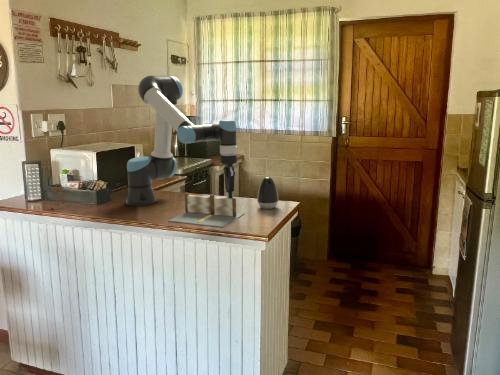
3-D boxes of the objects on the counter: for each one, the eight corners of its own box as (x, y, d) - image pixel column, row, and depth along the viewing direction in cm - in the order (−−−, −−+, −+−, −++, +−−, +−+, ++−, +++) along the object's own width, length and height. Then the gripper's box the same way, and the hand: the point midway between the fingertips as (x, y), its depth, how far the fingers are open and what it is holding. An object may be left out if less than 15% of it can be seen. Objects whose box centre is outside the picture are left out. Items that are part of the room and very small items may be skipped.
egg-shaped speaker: (261, 211, 202) (260, 179, 199) (254, 206, 212) (254, 175, 208) (281, 209, 204) (281, 178, 201) (274, 204, 214) (274, 174, 211)
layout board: (168, 221, 188) (167, 220, 188) (193, 209, 208) (193, 208, 208) (222, 227, 178) (222, 226, 178) (244, 214, 197) (244, 213, 197)
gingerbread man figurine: (66, 205, 221) (63, 182, 219) (71, 206, 219) (68, 183, 217) (50, 209, 214) (47, 185, 211) (55, 210, 212) (52, 186, 209)
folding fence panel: (214, 214, 195) (213, 197, 194) (216, 213, 197) (215, 196, 195) (235, 216, 191) (234, 199, 189) (237, 215, 193) (236, 198, 191)
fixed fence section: (184, 212, 201) (183, 193, 199) (187, 210, 204) (186, 192, 202) (213, 215, 195) (212, 195, 193) (216, 213, 198) (215, 194, 196)
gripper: (240, 155, 188) (241, 207, 193) (233, 152, 200) (234, 201, 205) (223, 156, 186) (225, 209, 191) (217, 153, 199) (219, 202, 203)
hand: (230, 205), depth 198 cm, fingers closed
